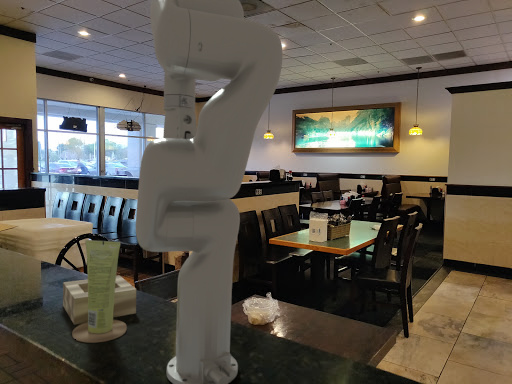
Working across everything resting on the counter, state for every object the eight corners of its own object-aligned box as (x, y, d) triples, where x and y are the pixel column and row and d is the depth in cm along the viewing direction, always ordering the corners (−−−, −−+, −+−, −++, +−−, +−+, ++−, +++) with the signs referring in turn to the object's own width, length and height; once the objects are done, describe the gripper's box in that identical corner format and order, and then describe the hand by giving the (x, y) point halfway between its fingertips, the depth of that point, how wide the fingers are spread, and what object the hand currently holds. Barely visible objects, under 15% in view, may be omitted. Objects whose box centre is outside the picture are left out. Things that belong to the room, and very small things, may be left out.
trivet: (133, 335, 83) (133, 332, 83) (78, 347, 77) (78, 344, 77) (118, 318, 92) (118, 315, 92) (67, 327, 86) (67, 325, 86)
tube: (110, 322, 88) (111, 237, 87) (119, 330, 84) (120, 241, 83) (84, 328, 84) (85, 239, 83) (92, 337, 81) (93, 243, 79)
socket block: (135, 313, 96) (136, 289, 95) (74, 324, 87) (74, 298, 87) (119, 296, 107) (119, 275, 107) (63, 305, 99) (63, 282, 98)
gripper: (210, 103, 90) (208, 176, 91) (178, 110, 104) (177, 173, 105) (180, 98, 86) (178, 176, 87) (151, 106, 100) (150, 173, 101)
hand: (177, 174), depth 96 cm, fingers open, 9 cm apart
